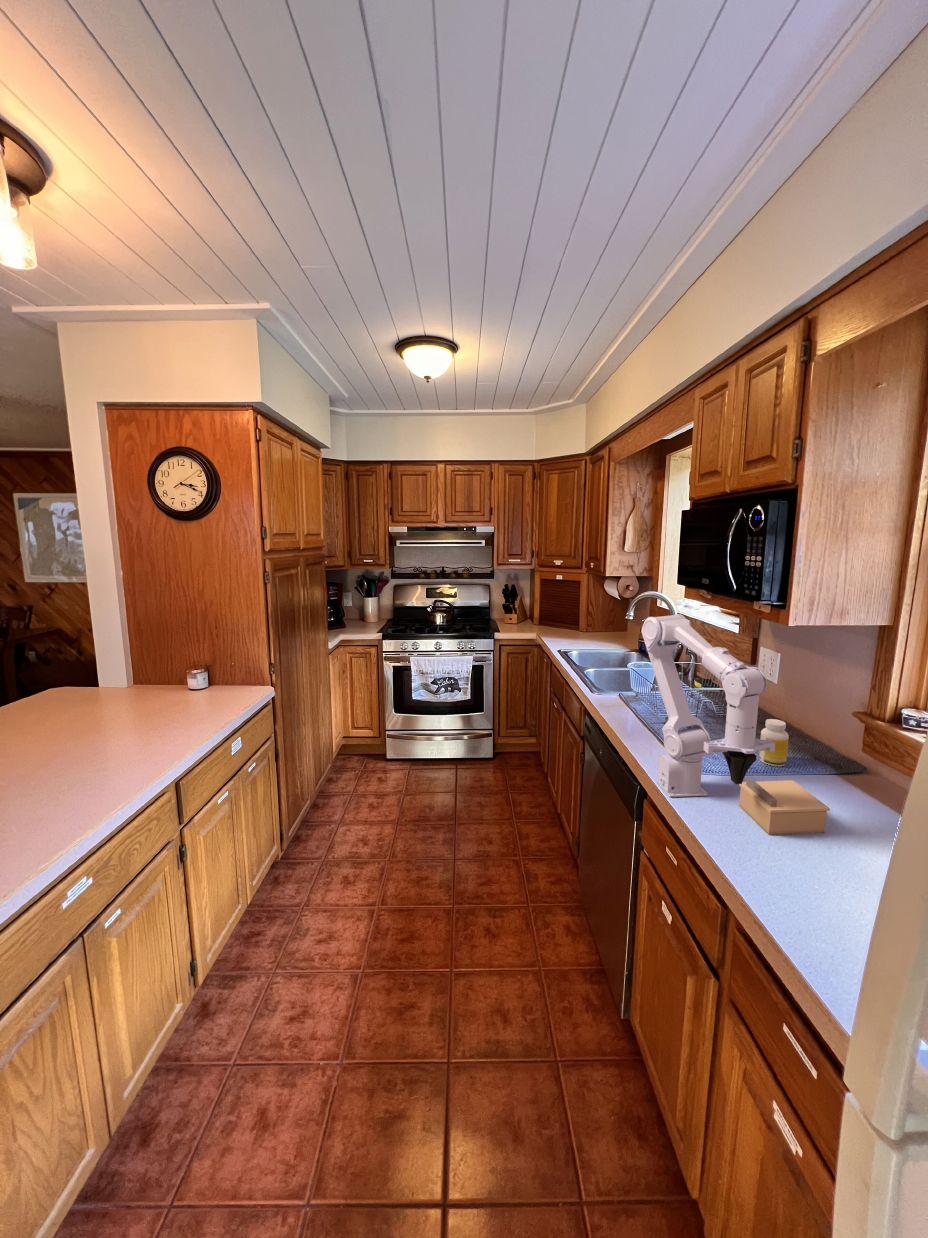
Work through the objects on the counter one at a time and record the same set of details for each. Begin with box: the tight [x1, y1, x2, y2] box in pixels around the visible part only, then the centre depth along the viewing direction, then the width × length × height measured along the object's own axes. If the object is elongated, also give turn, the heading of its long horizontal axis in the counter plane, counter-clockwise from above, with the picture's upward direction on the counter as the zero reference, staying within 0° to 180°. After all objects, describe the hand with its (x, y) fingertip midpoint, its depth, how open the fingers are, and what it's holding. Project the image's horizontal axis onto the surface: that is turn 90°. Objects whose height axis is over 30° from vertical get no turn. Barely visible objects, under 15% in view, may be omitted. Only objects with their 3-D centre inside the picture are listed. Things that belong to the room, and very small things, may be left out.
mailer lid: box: [738, 778, 831, 813], centre depth 109 cm, size 13×12×2 cm
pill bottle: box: [758, 718, 790, 768], centre depth 135 cm, size 6×6×12 cm
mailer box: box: [738, 786, 828, 836], centre depth 110 cm, size 12×11×5 cm
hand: (736, 782), depth 108 cm, fingers closed
